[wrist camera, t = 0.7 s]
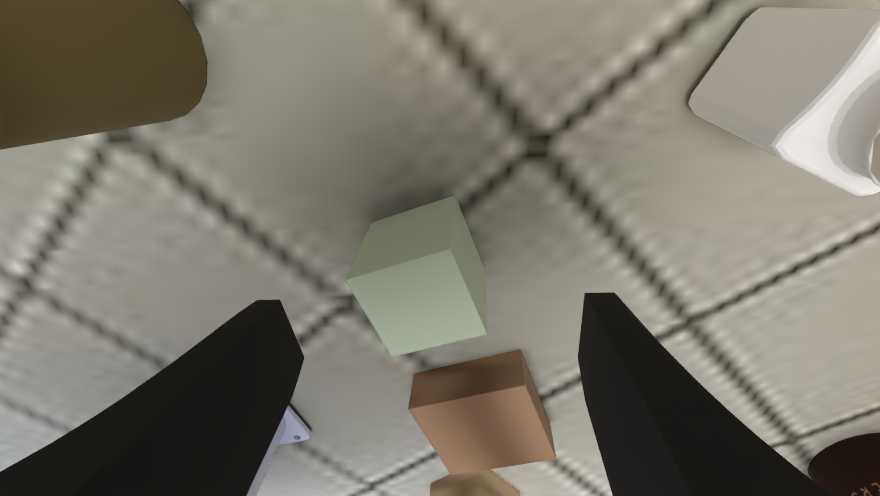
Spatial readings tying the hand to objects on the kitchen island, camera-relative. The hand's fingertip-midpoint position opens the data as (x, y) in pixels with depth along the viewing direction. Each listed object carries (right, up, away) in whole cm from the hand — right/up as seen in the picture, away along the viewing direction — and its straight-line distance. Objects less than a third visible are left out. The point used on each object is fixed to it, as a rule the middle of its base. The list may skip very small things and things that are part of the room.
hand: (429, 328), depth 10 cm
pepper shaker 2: (+13, +9, +6) cm, 17 cm away
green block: (0, +2, +11) cm, 11 cm away
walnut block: (+3, -8, +17) cm, 19 cm away
